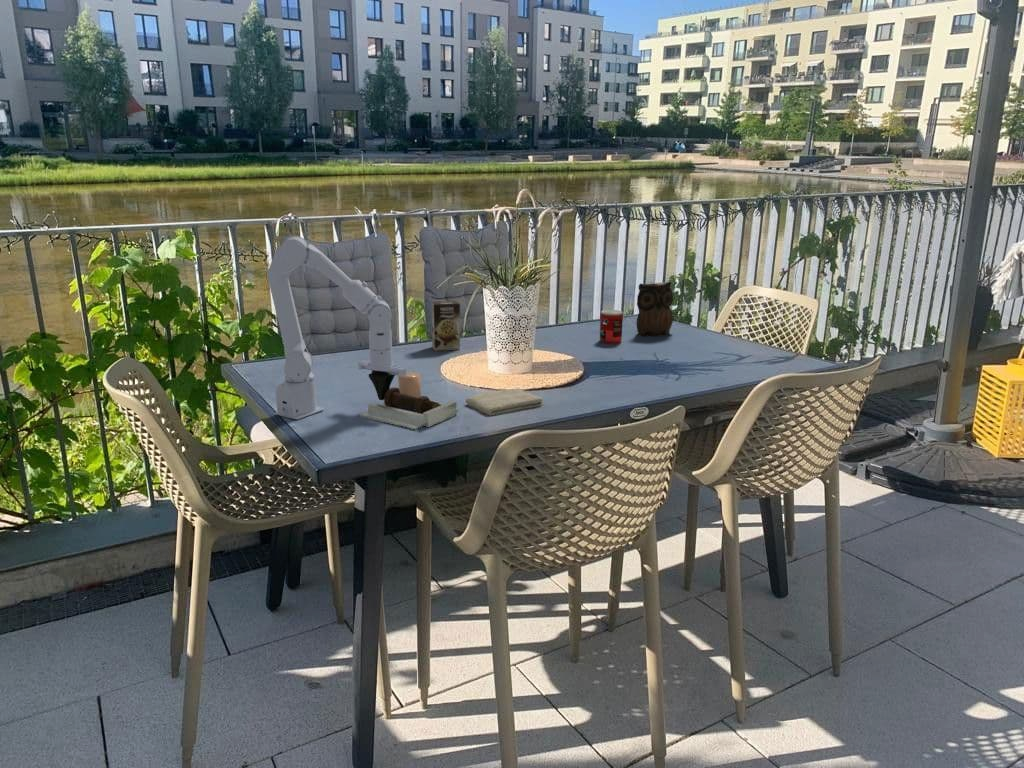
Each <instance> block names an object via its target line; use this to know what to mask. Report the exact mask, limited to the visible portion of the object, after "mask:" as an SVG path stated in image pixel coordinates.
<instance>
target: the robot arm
mask: <svg viewBox="0 0 1024 768" xmlns="http://www.w3.org/2000/svg"><path fill="white" fill-rule="evenodd" d="M271 260H272V261H271V263H270V264H269V265H270V266H269V268H268V270H267V274H266V275H267V281H268V286H269V289H270V293H271V297H272V300H273V305H274V309H275V313H276V318H277V322H278V326H279V330H280V334H281V339H282V341H283V342H282V343H283V349H284V351H283V352H284V357H285V363H284V369H283V370H284V373H285V377H284V381H283V382H282V383H280V384H278V385H277V387H276V388H275V389H276V390H275V397H276V412H275V415H277V416H281V417H285V418H288V419H293V420H301V419H303V418H306V417H309V416H312V415H314V414H317V413H319V412H323V411H325V408H324V407H320V406H318V405H317V394H316V381H315V374H314V373H313V372H312V366H313V364H314V363H313V362H314V359H313V356H312V354H311V353H310V352H309V350H308V349H307V346H306V342H305V340H304V337H303V333H302V330H301V325H300V322H299V318H298V317H299V316H298V312H297V309H296V304H295V300H294V296H293V292H292V288H291V283H290V279H289V277H290V276H291V275H292V273H293V272H294V270H295V269H296V268H298V267H300V265H302V264H303V263H305V264H304V267H306V268H311V269H317V270H318V271H319V272H321V273H322V274H323V275H325V276H326V277H327V278H328V279H329V280H331V281H332V282H333V283H335V284H336V286H338V287H339V288H340V289H342V296H343V299H345V300H346V301H347V302H349V303H350V304H351V305H352V306H353V307H354V308H356V309H357V310H358V311H359V312H360V313H361V314H364V315H366V316H367V319H368V322H369V330H368V342H369V343H368V345H369V360H364V359H362V360H361V361H357V366H358V368H357V369H358V370H366V371H367V370H368V371H371V372H370V373H369V374H368V378H369V379H370V381H371V382H372V383H371V384H373V387H374V389H375V392H376V396H377V398H378V400H379V401H384V396H385V393H386V391H387V390H388V389H389V388H391V384H392V383H393V379H394V378H395V376H398V377H402V376H406V373H407V371H406V369H407V368H406V367H403V366H400V365H397V364H395V362H394V361H393V337H392V329H391V328H392V324H391V322H392V321H391V320H392V317H393V314H392V312H391V307H390V306H389V304H388V303H387V301H386V300H384V299H383V298H382V296H381V295H376V293H375V292H373V290H371V289H370V288H369V287H368V283H367V282H366V281H364V280H363V281H361V280H360V279H351V278H350V277H349V276H348V275H347V274H346V273H344V271H342V269H340V268H339V267H338V266H337V265H336V264H335V263H334V262H333V261H332V260H331V259H330V258H329V257H328V256H326V254H324V252H322V251H321V250H319V248H317V247H316V246H315V245H313V244H312V243H309V242H308V241H307V240H306V239H305V238H304V237H302V236H298V235H293V236H292V235H291V236H290V237H288V238H287V239H286V240H284V241H283V242H282V243H281V244H280V246H279V247H278V248H276V250H275V252H274V255H273V257H272V259H271ZM398 377H397V378H398Z"/></svg>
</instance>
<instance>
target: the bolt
mask: <svg viewBox="0 0 1024 768" xmlns="http://www.w3.org/2000/svg"><path fill="white" fill-rule="evenodd" d="M430 400H431V399H430V398H429V396H427V395H421V396H420V397H419V398H417V397H412V396H408V395H404V394H401V393H400V391H399V387H396V386H395V387H390V388H389V389H388V390H387V391H386V393H385V396H384V400H383V404H384V406H388V407H393V408H398V407H401V408H406V409H410V410H413V411H415V413H420V414H423V413H424V412H427V411H429V410H431V409H434V408H436V407H439V406H440V405H439V403H437V402H438V401H436V402H433V401H434V400H431V401H430Z"/></svg>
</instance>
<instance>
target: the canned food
mask: <svg viewBox="0 0 1024 768" xmlns="http://www.w3.org/2000/svg"><path fill="white" fill-rule="evenodd" d="M623 316H624V312H623V311H622V310H617V309H603V310H601V311H600V316H599V317H600V318H599V320H600V322H599V324H600V325H599V341H600V342H601V343H604V344H609V345H610V344H611V345H612V344H620V343H621V342H622V337H623V336H622V335H623V319H624V317H623Z"/></svg>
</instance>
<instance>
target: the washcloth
mask: <svg viewBox="0 0 1024 768" xmlns="http://www.w3.org/2000/svg"><path fill="white" fill-rule="evenodd" d="M465 403H466V404H467V405H468V406H469V407H471V408H473V409H477V410H478V411H479V412H480V413H483V414H485V415H487V416H496V415H499V414H500V413H501V414H504V413H511V412H515V411H516V412H517V411H519V410H520V411H521V410H525V409H530V408H534V407H536V408H537V407H542V406H544V403H543V397H540V396H538V395H534V394H532V393H530V392H528V391H527V390H525V389H522V388H520V387H519V388H514V389H505V388H501V389H499V390H496V391H495V390H494V391H488V392H483V393H478V394H473V395H470V396H468V397H467V398H466V400H465ZM495 414H496V415H495Z"/></svg>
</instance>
